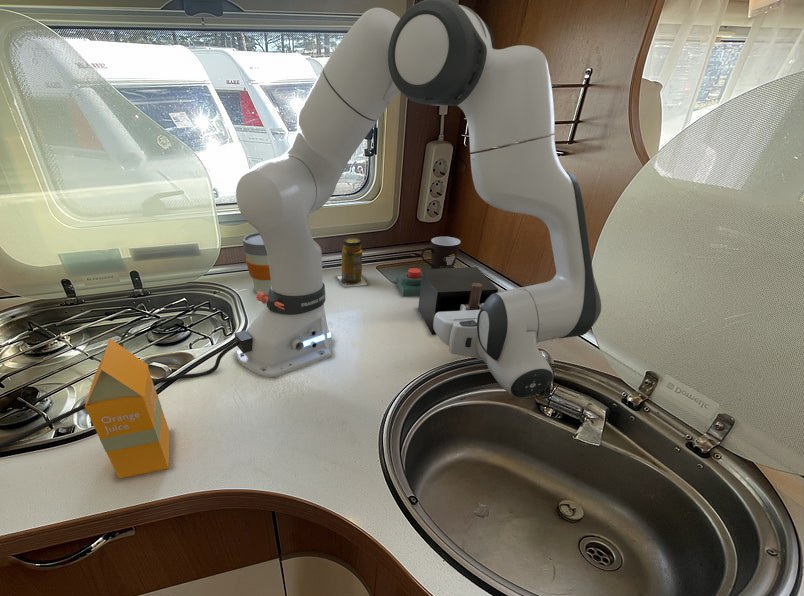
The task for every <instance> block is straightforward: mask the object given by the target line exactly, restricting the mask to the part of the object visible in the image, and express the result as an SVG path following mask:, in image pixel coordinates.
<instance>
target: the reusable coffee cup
mask: <svg viewBox="0 0 804 596" xmlns="http://www.w3.org/2000/svg"><path fill="white" fill-rule="evenodd" d="M242 242H243V243H242V247H243V252H244V253H245V257H246V258H245V261H246V263H245V264H246V266H247V269H248V273H249V276H250V277H251V280H252V283H253V287H254V290H255V293H256V294H257V293H258V292H263V293H264V294H267V295H268V294H269V290H270V286H271V277H270V270H269V262H268V256H267V252H266V248H265V245H264V243H263V240H262V238H261V236H260V234H259V232H258V231H257V232H253V233H249V234H247V235H245V236H244V237H243V238H242Z"/></svg>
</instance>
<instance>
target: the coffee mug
mask: <svg viewBox="0 0 804 596" xmlns="http://www.w3.org/2000/svg"><path fill="white" fill-rule="evenodd" d="M460 246H461V240H460V239H459V238H457V237H451V236H436V237H433V238H431V240H430V246H429V247H428V246H427V247H425V248H423V249H422V250H421V253H420V258H421V259H422V261H423V262H424V263H426V264H427V265H429V266H430V269H444V268H455V264H456V261H457V256H458V253H459V249H460ZM426 251H430V261H427V260H426V259H425V258H424V253H425V252H426Z"/></svg>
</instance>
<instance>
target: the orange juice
mask: <svg viewBox="0 0 804 596" xmlns="http://www.w3.org/2000/svg"><path fill="white" fill-rule="evenodd" d="M85 403H86V405H85V411H86V412H87V415H88V417H89V419H90V422H91V423H92V425H93V427H94V429H95V431H96V434H97V436H98V438H99V441H100V443H101V445H102V448H103V449H104V452H106V455H107V457H108V460H109V462H110V463H111V465H112V467H113V469H114V472H115V474H116V476H117V478H118V480H121V479H125V478H129V477H135V476H139V475H144V474H148V473H154V472H157V471H162V470H167V469H169V468H170V447H171V446H170V444H171V442H170V441H171V432H170V431H171V430H170V428H169V426H168V422H167V420H166V417H165V414H164V411H163V407H162V403H161V401H160V398H159V394H158V392H157V390H156V387H155V384H153V378H152V375H151V372H150V369H149V364H147V363H146V362H144V361H143V360H142V359H140V358H139V357H137V356H136V355H135V354H133V353H132V352H130V351H129V350H128V349H126V348H125V347H123V346H122V345H121V344H119V343H118V342H116V341H115V340H113V339H112V338H110V337H109V338H108V342H107V345H106V348H105V350H104V353H103V356H102V357H101V360H100V362H99V365H98V366H97V369H96V372H94V375H93V379H92V382H91V385H90V389H89V392H88V395H87V399H86V402H85Z"/></svg>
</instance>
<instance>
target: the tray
mask: <svg viewBox="0 0 804 596" xmlns="http://www.w3.org/2000/svg"><path fill="white" fill-rule="evenodd" d="M482 286H483V285H482V284H480V283H473V284H472V287H471V292H470V298H469V299H468V303H465V304H468V306H470V310H478V306H479V301H480V296H481V291H482ZM461 305H462V304H445V305H441V309H440V312H446V311H460V307H461Z"/></svg>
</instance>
